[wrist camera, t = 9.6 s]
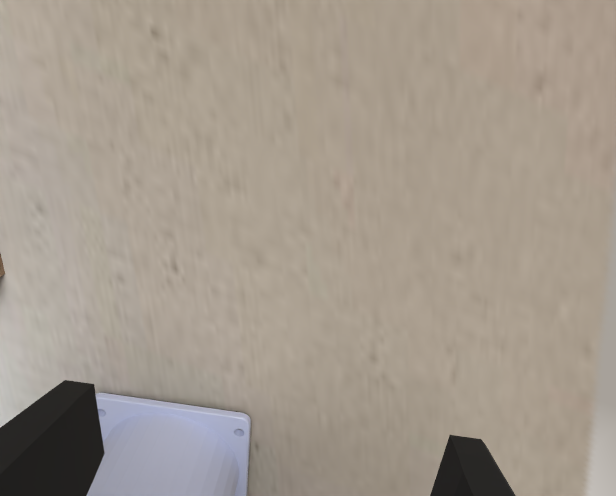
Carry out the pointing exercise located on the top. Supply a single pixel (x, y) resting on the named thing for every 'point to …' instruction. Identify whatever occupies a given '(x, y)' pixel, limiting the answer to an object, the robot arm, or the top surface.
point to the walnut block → (1, 267)
